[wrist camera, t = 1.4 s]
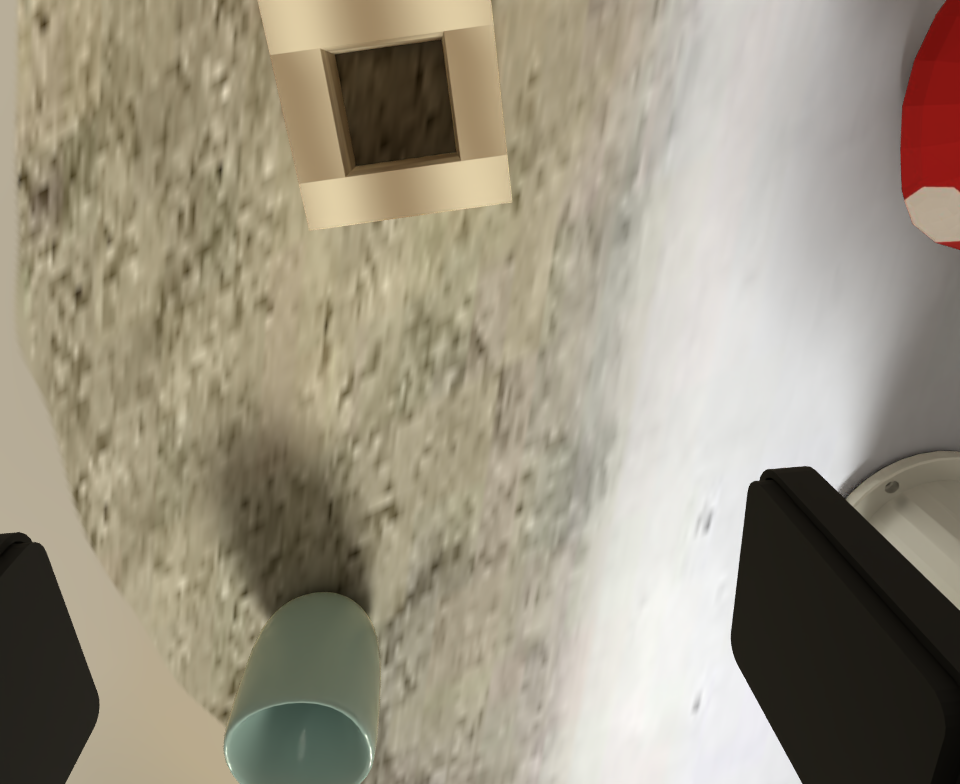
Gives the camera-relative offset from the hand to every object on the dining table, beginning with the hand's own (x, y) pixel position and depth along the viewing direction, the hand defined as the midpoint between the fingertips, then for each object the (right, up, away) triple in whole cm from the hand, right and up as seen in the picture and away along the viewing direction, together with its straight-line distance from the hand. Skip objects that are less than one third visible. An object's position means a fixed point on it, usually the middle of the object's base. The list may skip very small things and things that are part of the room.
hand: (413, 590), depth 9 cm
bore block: (-3, +16, +24) cm, 29 cm away
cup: (-9, -12, +36) cm, 39 cm away
